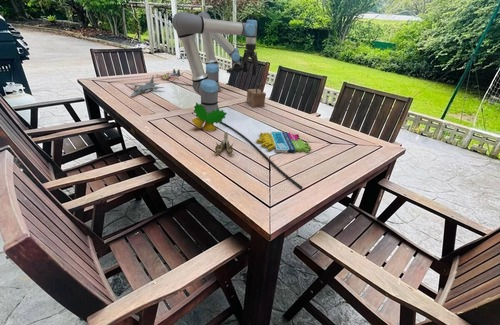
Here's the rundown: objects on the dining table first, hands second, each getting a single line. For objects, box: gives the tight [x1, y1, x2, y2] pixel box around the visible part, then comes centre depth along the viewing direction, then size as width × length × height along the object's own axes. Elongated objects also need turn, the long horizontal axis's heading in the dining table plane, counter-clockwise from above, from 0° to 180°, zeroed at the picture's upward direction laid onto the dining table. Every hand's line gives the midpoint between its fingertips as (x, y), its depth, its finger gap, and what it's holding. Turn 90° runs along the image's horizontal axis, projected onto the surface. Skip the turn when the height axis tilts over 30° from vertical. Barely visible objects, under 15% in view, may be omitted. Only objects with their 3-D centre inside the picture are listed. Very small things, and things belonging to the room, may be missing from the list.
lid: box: [246, 82, 267, 96], centre depth 209 cm, size 15×10×9 cm
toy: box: [155, 68, 181, 81], centre depth 282 cm, size 28×7×30 cm
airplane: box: [129, 74, 165, 98], centre depth 227 cm, size 38×31×10 cm
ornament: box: [191, 102, 228, 132], centre depth 162 cm, size 21×8×15 cm, turn 105°
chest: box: [246, 90, 266, 108], centre depth 214 cm, size 14×10×10 cm
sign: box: [256, 131, 312, 154], centre depth 152 cm, size 26×2×30 cm
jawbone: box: [214, 131, 234, 156], centre depth 136 cm, size 9×15×10 cm
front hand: (249, 73), depth 202 cm, fingers open, 13 cm apart
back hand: (239, 71), depth 224 cm, fingers open, 13 cm apart
